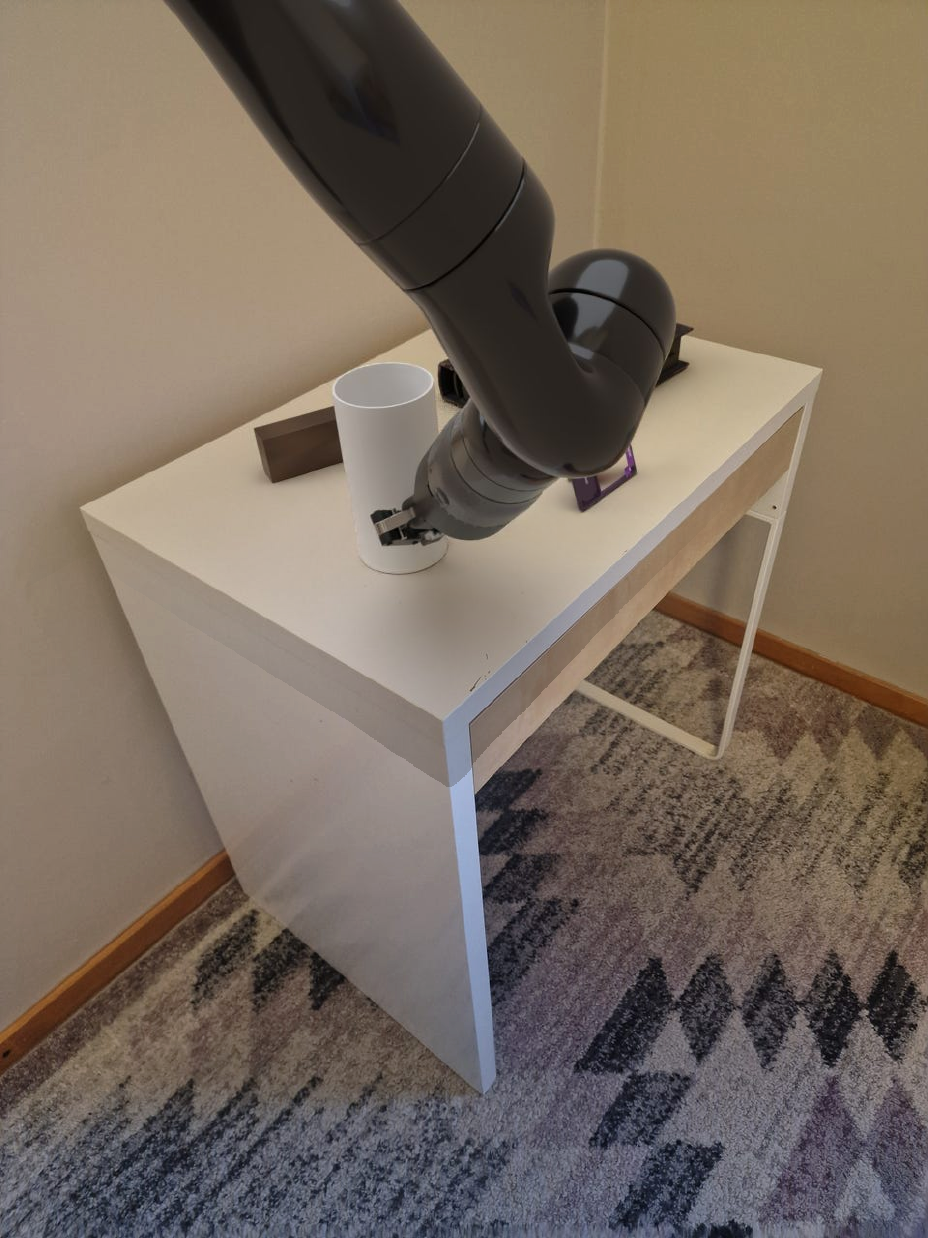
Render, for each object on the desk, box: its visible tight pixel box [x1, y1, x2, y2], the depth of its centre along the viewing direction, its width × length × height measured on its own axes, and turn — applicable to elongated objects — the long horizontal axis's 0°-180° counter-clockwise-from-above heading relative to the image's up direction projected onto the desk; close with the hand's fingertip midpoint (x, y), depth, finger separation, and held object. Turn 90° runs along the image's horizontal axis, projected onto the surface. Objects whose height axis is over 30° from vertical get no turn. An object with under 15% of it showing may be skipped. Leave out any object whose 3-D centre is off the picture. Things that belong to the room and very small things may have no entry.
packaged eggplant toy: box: [566, 444, 638, 512], centre depth 83 cm, size 7×5×9 cm
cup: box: [331, 361, 449, 575], centre depth 73 cm, size 8×8×16 cm
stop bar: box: [253, 405, 344, 484], centre depth 90 cm, size 14×3×5 cm, turn 118°
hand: (425, 532), depth 73 cm, fingers closed
